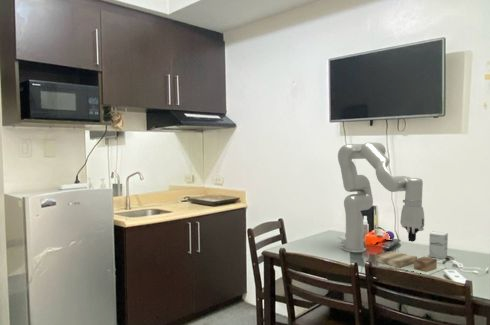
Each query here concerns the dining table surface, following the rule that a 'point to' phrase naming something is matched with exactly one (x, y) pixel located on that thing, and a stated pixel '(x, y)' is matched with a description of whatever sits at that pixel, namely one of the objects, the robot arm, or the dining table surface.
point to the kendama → (390, 234)
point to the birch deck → (396, 259)
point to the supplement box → (438, 245)
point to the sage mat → (411, 268)
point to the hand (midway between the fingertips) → (411, 240)
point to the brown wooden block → (425, 264)
